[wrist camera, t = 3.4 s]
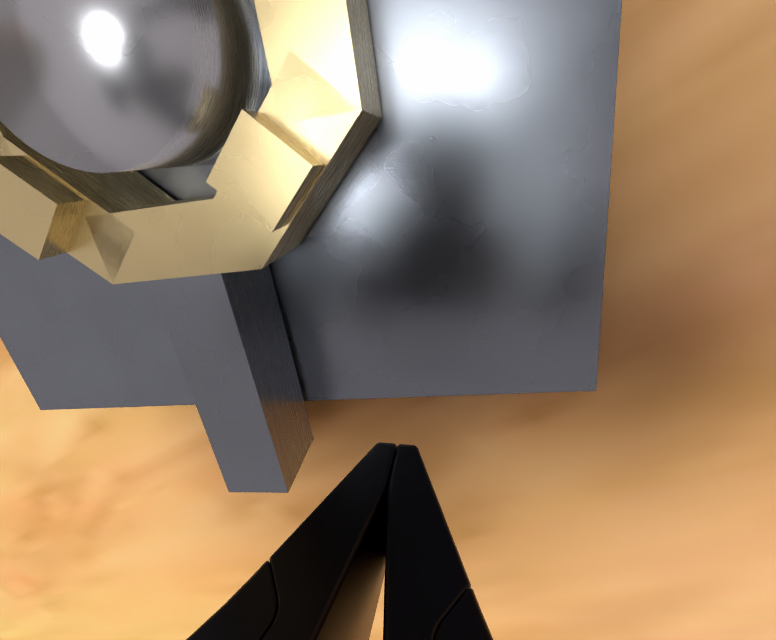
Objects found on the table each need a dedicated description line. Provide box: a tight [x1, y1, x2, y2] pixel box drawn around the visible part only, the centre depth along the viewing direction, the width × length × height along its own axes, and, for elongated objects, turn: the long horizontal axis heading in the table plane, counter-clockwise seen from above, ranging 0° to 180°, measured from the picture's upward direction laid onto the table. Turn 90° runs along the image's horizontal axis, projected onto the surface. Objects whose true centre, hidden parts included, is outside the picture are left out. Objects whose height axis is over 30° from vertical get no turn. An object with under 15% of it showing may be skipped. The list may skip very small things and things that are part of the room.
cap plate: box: [0, 0, 622, 410], centre depth 9 cm, size 21×21×5 cm
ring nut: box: [0, 0, 382, 493], centre depth 10 cm, size 17×10×3 cm, turn 8°
